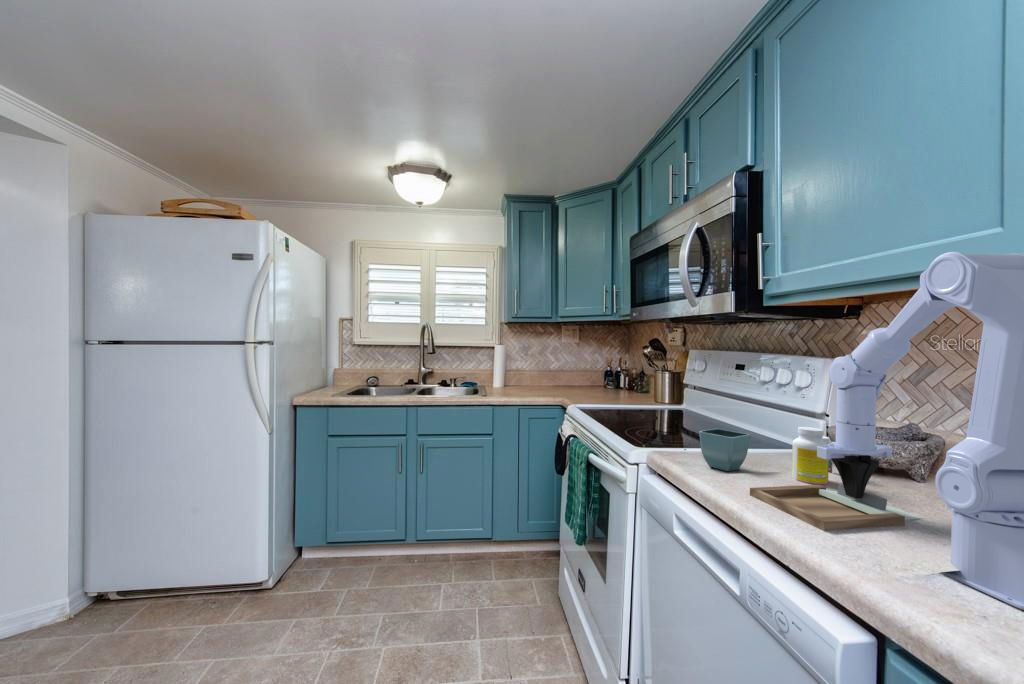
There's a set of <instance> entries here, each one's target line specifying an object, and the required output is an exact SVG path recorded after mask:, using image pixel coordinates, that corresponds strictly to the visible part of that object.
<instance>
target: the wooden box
mask: <svg viewBox="0 0 1024 684" xmlns="http://www.w3.org/2000/svg"><path fill="white" fill-rule="evenodd" d="M819 489H823V490H827V487H826V486H825V485H814V484H807V485H806V484H805V485H786V486H785V485H784V486H783V485H782V486H781V485H780V486H763V487H761V486H759V487H749V496H751V497H752V498H754V499H756V500H758V501H760V502H762V503H765V504H766V505H769V506H771V507H773V508H776V509H777V510H780V511H782V512H783V513H786V514H787V515H789V516H791V517H794V518H796V519H798V520H800V521H802V522H805V523H806V524H808V525H811V526H812V527H814V528H816V529H819V530H821V531H823V532H826V531H840V530H857V529H858V530H859V529H869V528H884V527H886V528H887V527H899V526H900V527H902V526H905V524H906V523H905V522H906V520H905V516H902V515H899V514H897V513H883V514H868V513H865V512H863V511H860V510H858V509H855V508H853V507H850V506H848V505H845V504H843V503H840V502H837V501H835V500H832V499H830V498H827V497H825V496H822V495H820V494H819Z"/></svg>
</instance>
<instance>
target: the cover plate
mask: <svg viewBox="0 0 1024 684" xmlns="http://www.w3.org/2000/svg"><path fill="white" fill-rule="evenodd" d="M819 494H820V495H822V496H825V497H827V498H830V499H832V500H835V501H837V502H840V503H843V504H845V505H848V506H850V507H853V508H855V509H858V510H860V511H863V512H865V513H868V514H883V513H897V514H899V515H902V516H905V521H907V520H921V519H923V520H924V519H925V518H923V517H920V516H918V515H916V514H913V513H910V512H907V511H904V510H902V509H898V508H896V507H893V506H890V505H889V504H888V499H887V498H885V497H882V496H879V495H877V494H874V493H871V492H867V491H866V490H865V491H864V494H863V496H862V498H860V499H855V498H853V497H850V496H847V495H846V493H845V490H844V486H843V483H838V486H837V491H835V490H830V489H829V490H828V489H826V490H823V489H819ZM887 504H888V505H887Z"/></svg>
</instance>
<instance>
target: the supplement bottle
mask: <svg viewBox="0 0 1024 684" xmlns="http://www.w3.org/2000/svg"><path fill="white" fill-rule="evenodd" d="M797 433H798V437H796V438H795V439H793V440H792V446H791V447H792V449H791V450H792V451H791V452H792V453H791V457H792V458H791V479H792V480H794V481H797V482H800V483H804V484H807V485H821V486H826V485H828V484H829V472H828V465H829V460H826V459H823V458H820V457H817V446H826V445H829V444H827V443H826V442H824V441H823V440H822V437H823V436H825V435H824V434H825V432H824V429H823V428H818V427H810V426H798V427H797Z"/></svg>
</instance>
